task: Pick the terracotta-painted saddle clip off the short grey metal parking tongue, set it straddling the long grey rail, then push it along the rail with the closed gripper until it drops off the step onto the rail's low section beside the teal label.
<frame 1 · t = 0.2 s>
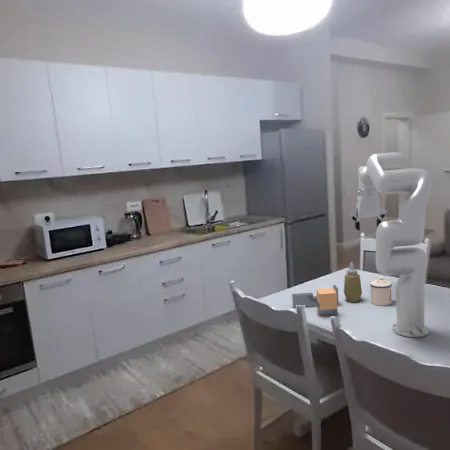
hand: (368, 229, 194), 31 cm above the table, fingers open, 9 cm apart
teacup with lid: (380, 301, 186), on the table
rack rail: (315, 305, 188), on the table
saddle clip: (326, 306, 176), point 3 cm above the table, touching parking tongue
squeeze bottle: (353, 300, 190), on the table
parking tongue: (327, 313, 177), on the table
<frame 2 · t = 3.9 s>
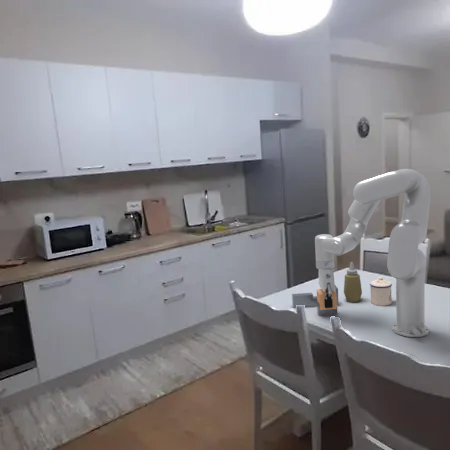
hand: (326, 304, 176), 4 cm above the table, fingers closed on saddle clip, 6 cm apart
saddle clip: (326, 306, 176), point 3 cm above the table, touching gripper, parking tongue
everything else where it was.
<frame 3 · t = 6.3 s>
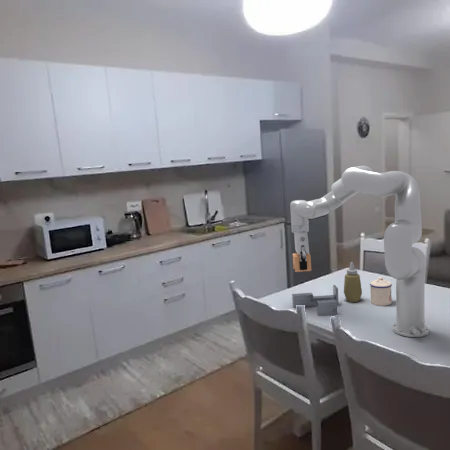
hand: (302, 267, 185), 18 cm above the table, fingers closed on saddle clip, 6 cm apart
saddle clip: (302, 269, 185), point 17 cm above the table, touching gripper
everything else where it was.
when the fingers open (5 cm above the table, at t = 9.1 s): saddle clip stays where it is, resting on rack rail.
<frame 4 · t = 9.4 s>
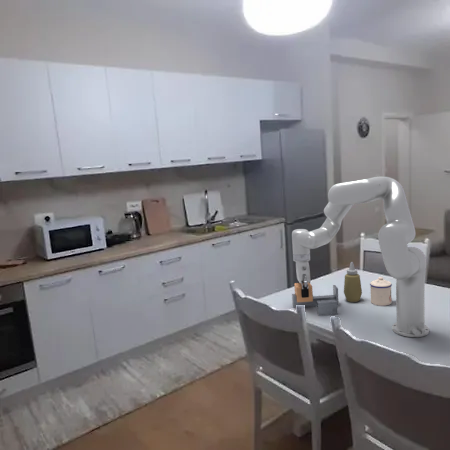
hand: (303, 293, 187), 6 cm above the table, fingers open, 9 cm apart
saddle clip: (303, 299, 187), point 3 cm above the table, touching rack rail
everything else where it was.
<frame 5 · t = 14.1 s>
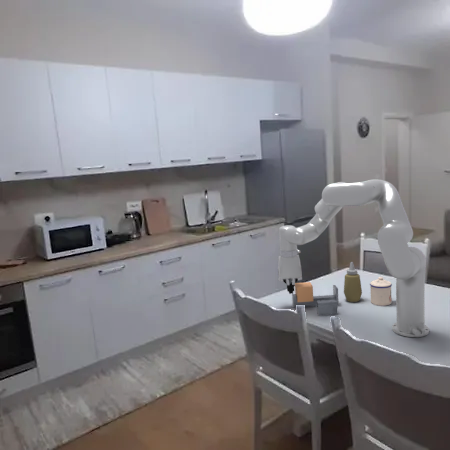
hand: (290, 292, 187), 7 cm above the table, fingers closed
saddle clip: (304, 299, 187), point 3 cm above the table, touching gripper
everything else where it was.
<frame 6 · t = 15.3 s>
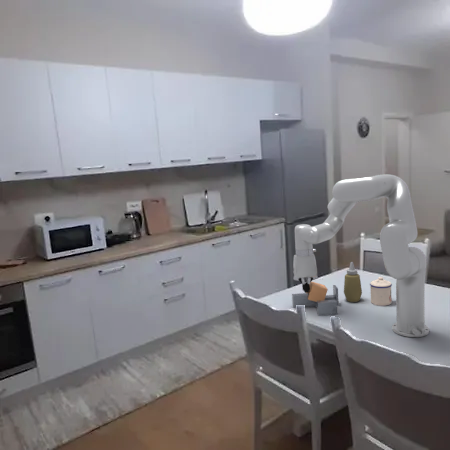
hand: (306, 291, 187), 7 cm above the table, fingers closed
saddle clip: (314, 299, 188), point 3 cm above the table, tilted 20°, touching gripper
everything else where it was.
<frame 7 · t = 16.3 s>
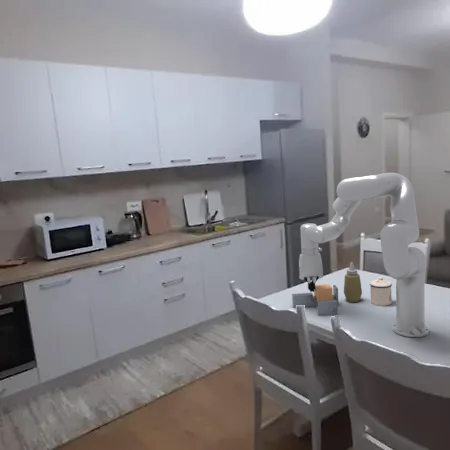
hand: (311, 290, 187), 7 cm above the table, fingers closed
saddle clip: (323, 301, 188), point 1 cm above the table, touching gripper, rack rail
everything else where it was.
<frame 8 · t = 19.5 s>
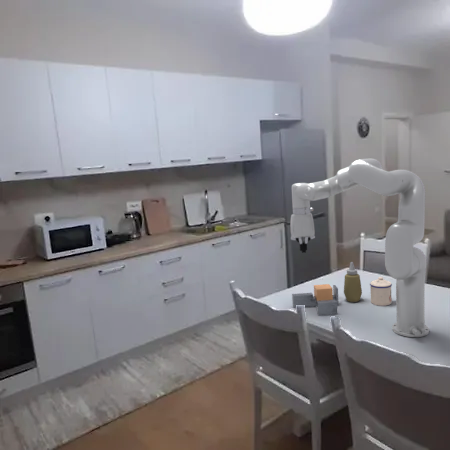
hand: (303, 251, 184), 25 cm above the table, fingers closed
saddle clip: (323, 301, 188), point 1 cm above the table, touching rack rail
everything else where it was.
at the end: saddle clip 0.7 cm from the target spot on the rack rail, point 1.3 cm above the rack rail's base; saddle clip tilted 0°; the gripper is holding nothing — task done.
